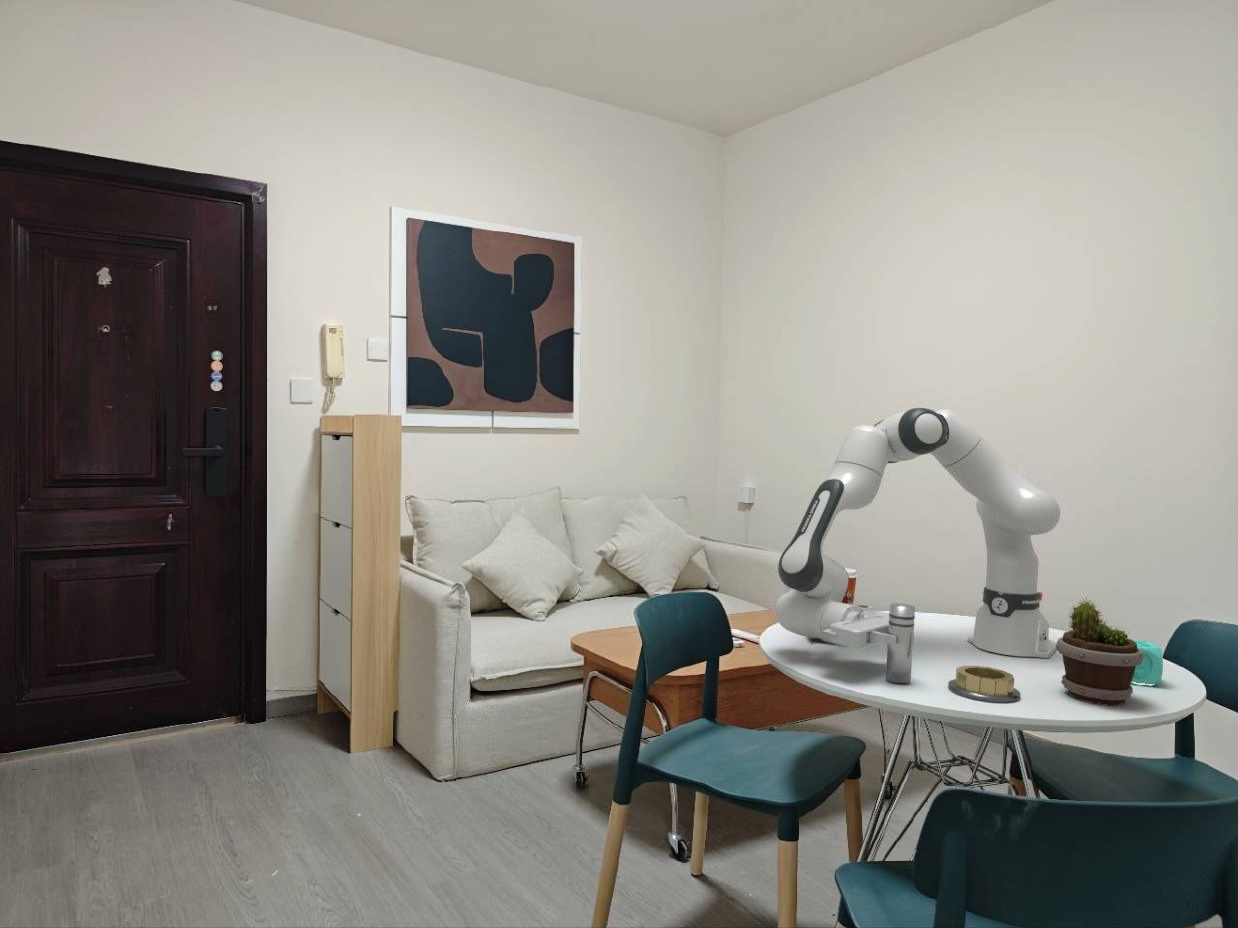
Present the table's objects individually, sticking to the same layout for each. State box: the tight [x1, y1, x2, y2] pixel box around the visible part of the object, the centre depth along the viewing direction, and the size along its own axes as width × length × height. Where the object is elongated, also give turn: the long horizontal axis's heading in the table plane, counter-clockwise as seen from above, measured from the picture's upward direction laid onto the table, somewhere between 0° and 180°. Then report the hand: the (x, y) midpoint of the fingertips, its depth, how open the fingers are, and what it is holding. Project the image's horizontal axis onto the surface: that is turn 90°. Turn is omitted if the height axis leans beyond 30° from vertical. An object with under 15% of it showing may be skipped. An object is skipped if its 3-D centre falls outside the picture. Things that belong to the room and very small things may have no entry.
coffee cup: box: [842, 567, 859, 605], centre depth 218 cm, size 8×8×15 cm
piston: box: [885, 602, 916, 684], centre depth 172 cm, size 5×5×15 cm
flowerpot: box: [1056, 597, 1144, 706], centre depth 167 cm, size 14×15×20 cm
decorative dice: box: [1130, 638, 1164, 685], centre depth 181 cm, size 8×8×8 cm
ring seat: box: [947, 665, 1022, 704], centre depth 167 cm, size 13×13×4 cm
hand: (904, 638), depth 171 cm, fingers closed on piston, 5 cm apart
